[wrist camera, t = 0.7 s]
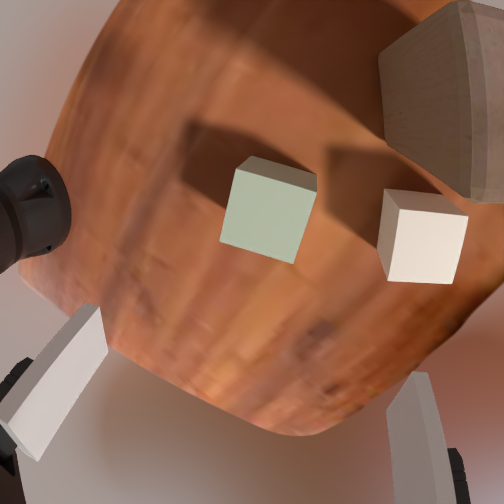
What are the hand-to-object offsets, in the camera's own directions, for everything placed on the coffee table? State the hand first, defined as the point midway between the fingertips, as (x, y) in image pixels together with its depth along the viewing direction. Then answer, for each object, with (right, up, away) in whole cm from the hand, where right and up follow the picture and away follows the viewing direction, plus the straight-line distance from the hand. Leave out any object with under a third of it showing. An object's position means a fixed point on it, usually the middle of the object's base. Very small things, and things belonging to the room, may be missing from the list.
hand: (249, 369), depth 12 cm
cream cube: (+17, +8, +20) cm, 28 cm away
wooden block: (+18, +20, +14) cm, 30 cm away
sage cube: (+3, +11, +22) cm, 24 cm away
